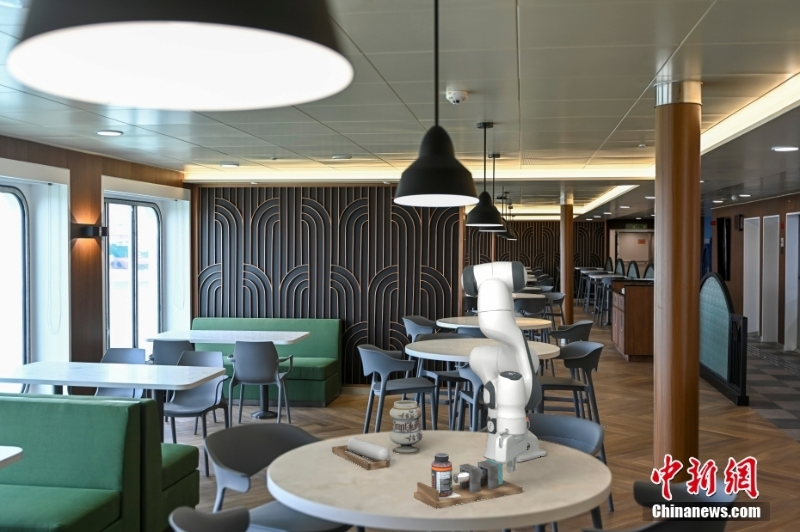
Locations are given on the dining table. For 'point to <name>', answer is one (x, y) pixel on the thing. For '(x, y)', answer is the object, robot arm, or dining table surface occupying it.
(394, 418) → the apothecary jar
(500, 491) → the rail
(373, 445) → the tube
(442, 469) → the supplement bottle
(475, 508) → the dining table surface
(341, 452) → the tube cradle
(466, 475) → the shaft
